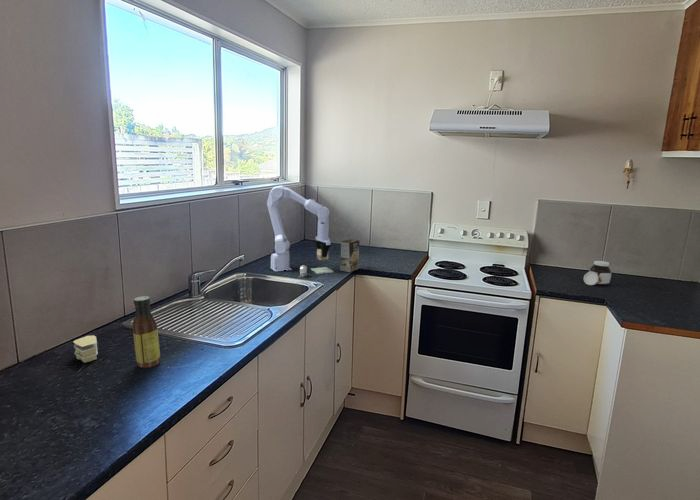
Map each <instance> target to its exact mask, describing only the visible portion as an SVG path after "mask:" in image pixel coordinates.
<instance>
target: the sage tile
mask: <svg viewBox="0 0 700 500" xmlns="http://www.w3.org/2000/svg"><path fill="white" fill-rule="evenodd" d="M310 271H312V272H313V271H314V273H315V274H316V275H322V274H324V273H325V274H332V273H334V272H335V271H334V270H333V269H331V268H329V267H327V266H324V267H313V268H310Z"/></svg>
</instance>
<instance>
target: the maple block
mask: <svg viewBox="0 0 700 500" xmlns="http://www.w3.org/2000/svg"><path fill="white" fill-rule="evenodd" d="M316 259H317V260H319V261H325V260H327V261H328V260H329V252H328V253H327V257H322V250H321V249H317V248H316Z"/></svg>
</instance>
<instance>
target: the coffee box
mask: <svg viewBox="0 0 700 500" xmlns="http://www.w3.org/2000/svg"><path fill="white" fill-rule="evenodd" d="M359 255H360V240H358V239H351V238H350V239H346V240H342V241H340V263H339V264H340V265H339V271H341V272H347V273H351V272H354V271H357V270H359V257H360V256H359Z"/></svg>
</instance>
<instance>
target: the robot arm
mask: <svg viewBox="0 0 700 500" xmlns="http://www.w3.org/2000/svg"><path fill="white" fill-rule="evenodd" d="M282 199H292V200H294V201H295V202H297V203H299V204H301V205H303V206H304V209H305V210H307V211H309V212H310V213H311V214H314V215H315V216H317V233H316V234H317V235H315V241H314V244H315V246H316V250H317V249H321V250H322V257H327V253H328V254H329V250H330V248H331V247H332V244H331V243H332V242H331V238H330V237H329V234H330V233H329V230H330V228H329V225H330V222H329V220H330V219H329V216H330V209H329V208H328V207H327V206H324V205H323V204H319V203H318V202H316V200H315V198H313V199H312V198H310V199H306V198H305V197H304V196H302V195H300V193H299V194H298V193H297V192H296V191H294V190H292V189H291V188H289V187H287V186H285V185H282V184H280V185H277V186H274V187H272V189H271V190H270V191H269V195H268V197H267V201H266V206H267V210H268V214H269V216H270V217H269V218H270V221H271V226H272V229H273V233H274V243H275V245H274V250H275V252H274V253H271V254H270V267H269V268H270V269H271V270H273V271H274V272H285V271H284V270H286V271H293V269H292V268H291V267H290V250H289V249H290V247H291V242H290V241H289V240H288V238H287V235H286V234H285V230H284V226H283V222H282V218H281V214H280V211H279V206H278V204H279V202H280V201H281V200H282Z"/></svg>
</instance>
